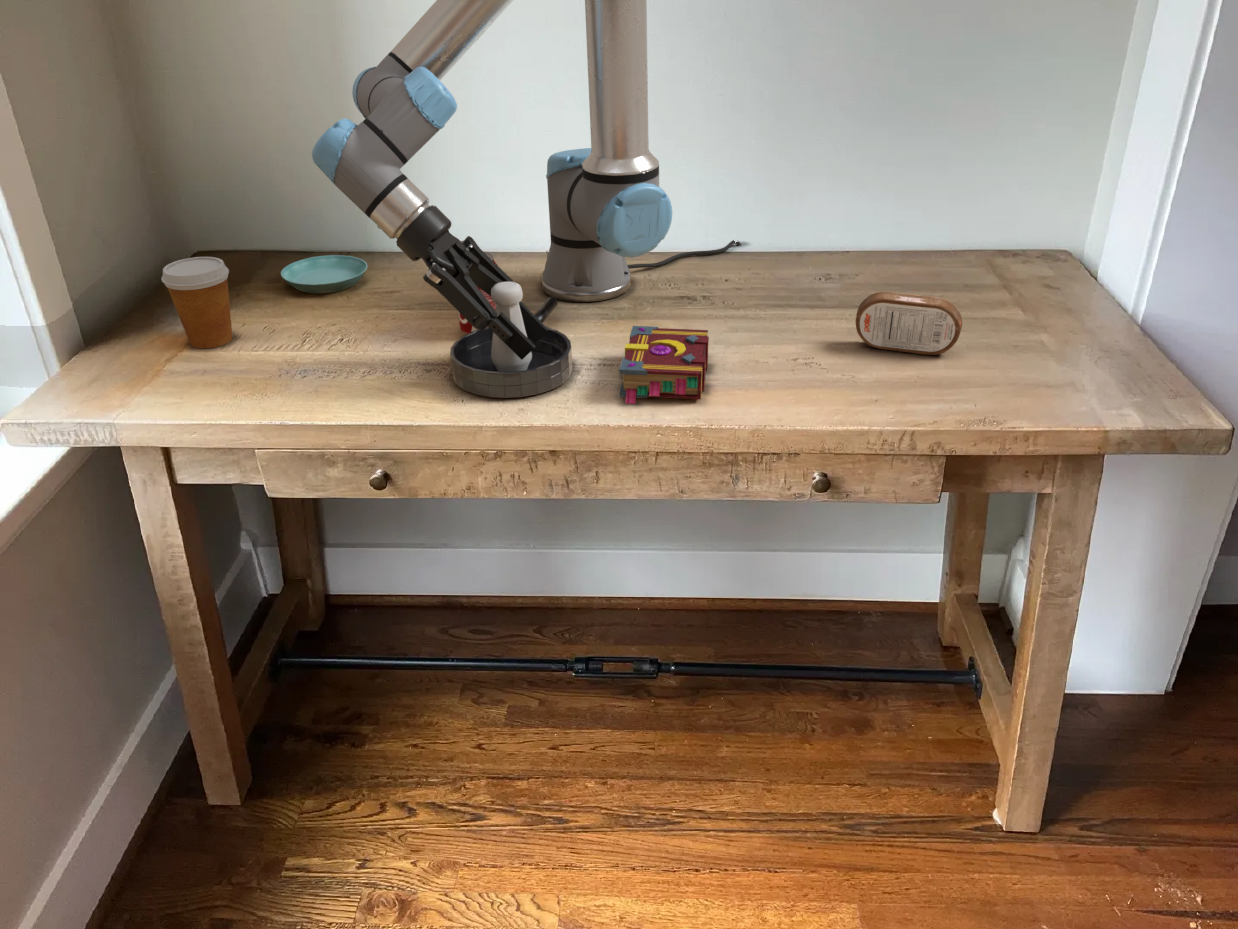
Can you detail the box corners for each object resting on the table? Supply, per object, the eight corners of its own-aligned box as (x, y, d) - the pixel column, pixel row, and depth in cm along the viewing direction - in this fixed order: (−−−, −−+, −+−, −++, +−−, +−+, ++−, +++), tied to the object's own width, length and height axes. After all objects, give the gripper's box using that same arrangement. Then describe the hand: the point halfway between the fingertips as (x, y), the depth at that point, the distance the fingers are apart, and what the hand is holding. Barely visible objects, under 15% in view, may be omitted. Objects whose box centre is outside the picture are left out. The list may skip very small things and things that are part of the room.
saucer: (281, 302, 168) (278, 287, 167) (285, 273, 180) (282, 258, 179) (370, 293, 171) (368, 278, 170) (368, 265, 183) (366, 251, 182)
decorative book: (708, 356, 147) (710, 325, 144) (702, 407, 133) (703, 373, 130) (632, 353, 148) (632, 322, 145) (617, 403, 134) (617, 369, 132)
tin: (957, 351, 147) (966, 297, 142) (956, 360, 144) (965, 305, 140) (854, 339, 151) (860, 287, 147) (851, 348, 149) (857, 294, 144)
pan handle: (534, 337, 148) (533, 326, 147) (522, 336, 148) (522, 325, 147) (559, 306, 158) (558, 295, 158) (548, 305, 159) (547, 294, 158)
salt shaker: (526, 381, 140) (520, 293, 133) (487, 378, 141) (479, 291, 134) (537, 363, 145) (532, 278, 138) (499, 361, 146) (492, 276, 139)
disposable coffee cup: (234, 351, 151) (217, 275, 145) (170, 354, 150) (150, 278, 144) (250, 327, 159) (234, 254, 153) (189, 329, 158) (171, 256, 152)
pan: (532, 339, 153) (530, 315, 151) (595, 377, 141) (594, 351, 139) (432, 368, 145) (429, 343, 142) (490, 411, 133) (488, 384, 131)
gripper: (424, 220, 144) (538, 334, 149) (367, 262, 129) (496, 388, 134) (454, 185, 140) (571, 304, 145) (399, 224, 125) (532, 355, 130)
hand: (535, 344), depth 140 cm, fingers open, 5 cm apart
